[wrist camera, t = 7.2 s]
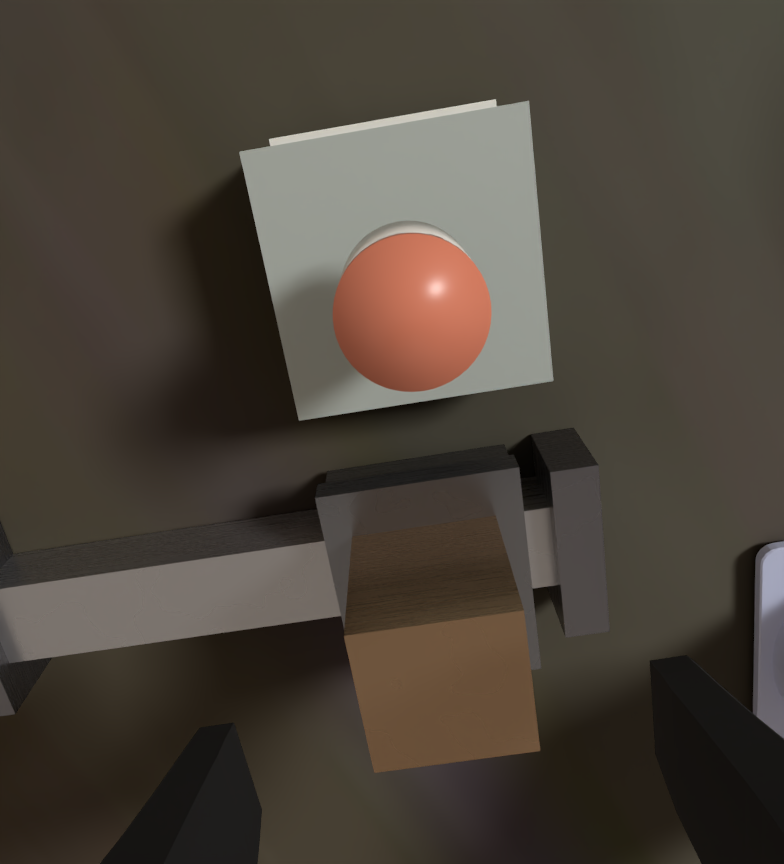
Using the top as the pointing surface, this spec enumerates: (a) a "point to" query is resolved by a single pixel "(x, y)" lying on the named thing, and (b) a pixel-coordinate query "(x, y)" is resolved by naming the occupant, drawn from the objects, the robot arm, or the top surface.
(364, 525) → the carriage
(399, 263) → the orange and white dome
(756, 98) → the top surface
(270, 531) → the rail
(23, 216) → the top surface
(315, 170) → the grey square block
